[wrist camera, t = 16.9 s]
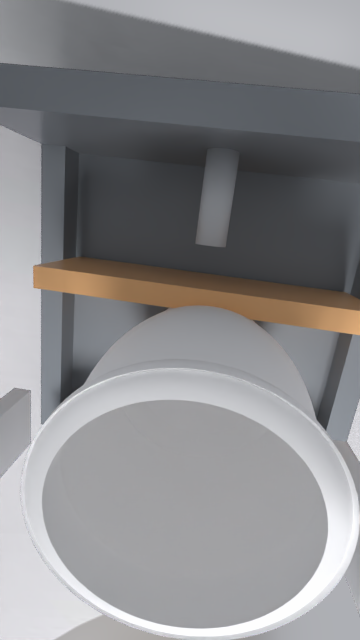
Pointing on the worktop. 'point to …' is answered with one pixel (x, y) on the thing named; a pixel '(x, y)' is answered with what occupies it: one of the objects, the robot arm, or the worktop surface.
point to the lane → (193, 206)
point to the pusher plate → (202, 292)
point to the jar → (192, 483)
